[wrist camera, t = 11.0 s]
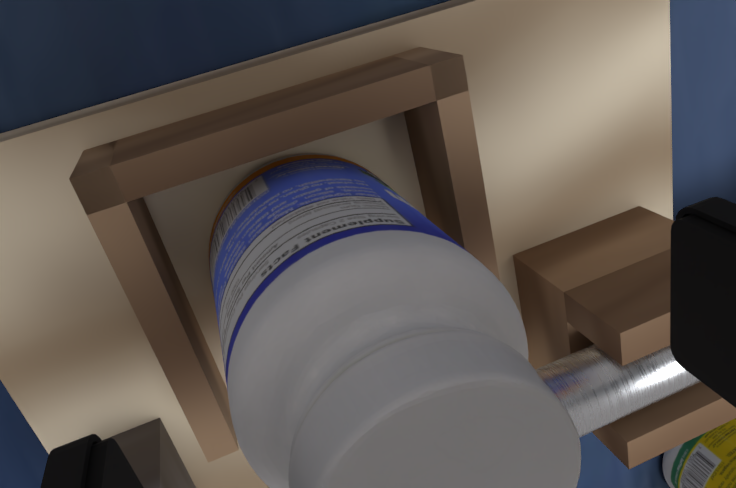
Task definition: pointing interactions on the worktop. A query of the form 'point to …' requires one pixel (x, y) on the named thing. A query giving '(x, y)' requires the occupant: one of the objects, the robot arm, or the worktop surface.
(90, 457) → the robot arm
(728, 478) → the supplement bottle
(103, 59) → the worktop surface
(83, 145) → the shaft bracket
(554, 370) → the steel shaft
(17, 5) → the worktop surface
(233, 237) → the pill bottle
